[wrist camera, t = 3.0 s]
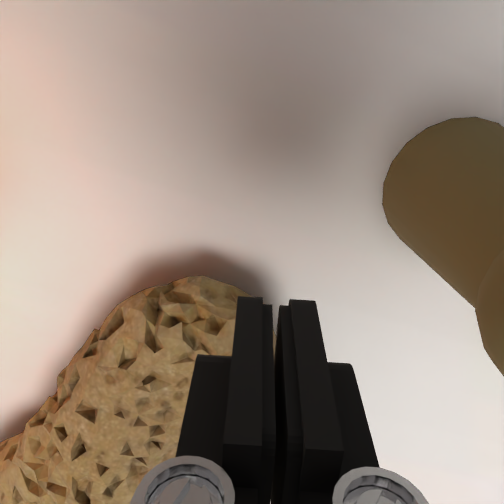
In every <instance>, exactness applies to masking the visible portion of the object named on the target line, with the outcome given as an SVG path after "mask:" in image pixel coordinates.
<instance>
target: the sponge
mask: <svg viewBox="0 0 504 504" xmlns="http://www.w3.org/2000/svg"><path fill="white" fill-rule="evenodd" d="M238 296H245V297H253V296H251V295H249V294H247V293H246V292H244V291H242V290H240V289H239V288H237V287H235V286H233V285H229V284H226V283H223V282H220V281H217V280H214V279H211V278H208V277H206V276H191V277H185V278H183V279H180V280H177V281H174V282H171V283H170V284H168V285H166V286H155V287H151V288H148V289H144V290H143V291H141V292H139V293H137V294H135V295H133V296H131V297H130V298H128V299H126V300H125V301H123V302H121V303H120V304H118V305H117V306H116V307H115V308H114V310H113V311H112V312H111V313H110V314H109V315H108V317H107V318H106V320H105V321H104V323H103V325H102V326H101V328H100V330H97V329H94V330H93V332H92V333H91V335H90V336H89V338H88V339H87V341H86V342H85V344H84V345H83V347H82V348H81V349H80V350H79V351H78V352H77V353H76V354H75V355H74V357H73V359H72V360H71V362H70V363H69V365H68V366H67V367H66V368H65V369H63V370H62V371H61V373H60V374H59V376H58V378H57V389H58V390H57V392H56V394H55V395H54V396H52V397H51V396H49V398H48V399H47V400H46V402H45V403H44V404H43V406H42V407H41V408H40V409H39V411H38V412H37V413H36V414H35V415H34V416H33V417H32V418H31V419H29V421H28V422H27V423H26V426H25V430H24V431H23V432H22V433H20V434H18V435H16V436H14V437H12V438H8V439H6V440H4V441H2V442H0V504H130V502H131V499H132V497H133V495H134V493H135V491H136V488H137V487H138V485H139V484H140V482H141V480H142V479H143V477H144V476H145V475H146V474H147V473H148V472H149V471H150V470H151V469H153V468H154V467H155V466H156V465H158V464H160V463H162V462H164V461H166V460H168V459H170V458H175V456H176V451H177V446H178V442H179V437H180V432H181V427H182V423H183V418H184V413H185V408H186V403H187V399H188V394H189V389H190V384H191V380H192V375H193V370H194V365H195V361H196V357H197V355H198V354H203V355H220V356H232V349H233V339H234V329H235V319H236V309H237V299H238ZM275 345H276V335H275V333H274V330H273V350H274V355H275Z"/></svg>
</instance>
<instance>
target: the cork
mask: <svg viewBox="0 0 504 504" xmlns="http://www.w3.org/2000/svg"><path fill="white" fill-rule="evenodd" d="M382 205H383V208H384V212H385V215H386V218H387V222H388V224H389V225H390V227H391V228H392V229H393V230H394V232H395V233H396V234H397V236H398V237H399V238H400V239H401V240H402V241H403V242H404V243H405V244H406V245H407V246H408V247H409V248H411V249H412V250H413V251H414V252H415V253H416V254H417V255H418V256H419V257H420V258H421V259H422V260H424V261H425V262H426V263H427V264H428V265H429V266H430V267H431V268H432V269H433V270H434V271H435V272H437V273H438V274H439V275H440V276H441V277H442V278H443V279H444V280H445V281H446V282H447V283H448V284H449V285H451V286H452V287H453V288H454V289H455V290H456V291H457V292H458V293H459V294H460V295H461V296H462V297H464V298H465V299H466V300H467V301H468V302H469V303H470V304H471V305H472V306H473V307H474V308H475V312H476V316H477V321H478V325H479V329H480V334H481V338H482V342H483V346H484V349H485V350H486V352H487V353H488V355H489V357H490V358H491V360H492V361H493V363H494V364H495V365H496V367H497V368H498V369H499V371H500V372H501V373H502V375H503V376H504V127H503V126H501V125H500V124H499V123H496V122H492V121H489V120H485V119H481V118H478V117H469V118H454V119H449V120H447V121H444V122H441V123H439V124H436V125H433V126H431V127H428V128H427V129H425V130H424V131H422V132H421V133H420V134H418V135H417V136H416V137H414V138H413V139H412V140H410V141H409V142H408V143H407V144H406V145H405V146H404V147H403V149H402V150H401V151H400V153H399V154H398V155H397V156H396V158H395V159H394V160H393V162H392V163H391V166H390V169H389V171H388V174H387V176H386V179H385V181H384V186H383V203H382Z"/></svg>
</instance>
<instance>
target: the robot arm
mask: <svg viewBox="0 0 504 504" xmlns="http://www.w3.org/2000/svg"><path fill="white" fill-rule="evenodd" d="M270 499H271V504H429V503H428V502H427V500H426V499H425V497H424V496H423V494H422V493H421V492H420V491H419V490H418V489H417V488H416V487H415V486H414V485H413V484H412V483H411V482H410V481H409V480H407V479H405V478H403V477H402V476H400V475H398V474H397V473H395V472H392V471H389V470H386V469H383V468H380V467H379V464H378V460H377V456H376V452H375V449H374V445H373V441H372V437H371V434H370V430H369V426H368V422H367V419H366V415H365V411H364V407H363V404H362V400H361V396H360V392H359V389H358V385H357V381H356V377H355V374H354V370H353V367H352V365H351V364H348V363H332V362H327V358H326V353H325V348H324V343H323V337H322V332H321V327H320V322H319V317H318V312H317V306H316V302H315V301H309V300H293V299H290V300H289V306H283V305H280V306H279V314H278V324H277V335H276V345H275V355H274V350H273V317H272V305H267V304H263V298H261V297H245V296H238V299H237V309H236V319H235V329H234V339H233V349H232V356H220V355H203V354H198V355H197V357H196V361H195V365H194V370H193V375H192V380H191V384H190V389H189V394H188V399H187V403H186V408H185V413H184V418H183V423H182V427H181V432H180V437H179V442H178V446H177V451H176V456H175V458H170V459H168V460H166V461H164V462H162V463H160V464H158V465H156V466H155V467H154V468H153V469H151V470H150V471H149V472H148V473H147V474H146V475H145V476H144V477H143V479H142V480H141V482H140V484H139V485H138V487H137V488H136V491H135V493H134V495H133V497H132V499H131V502H130V504H270Z"/></svg>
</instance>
